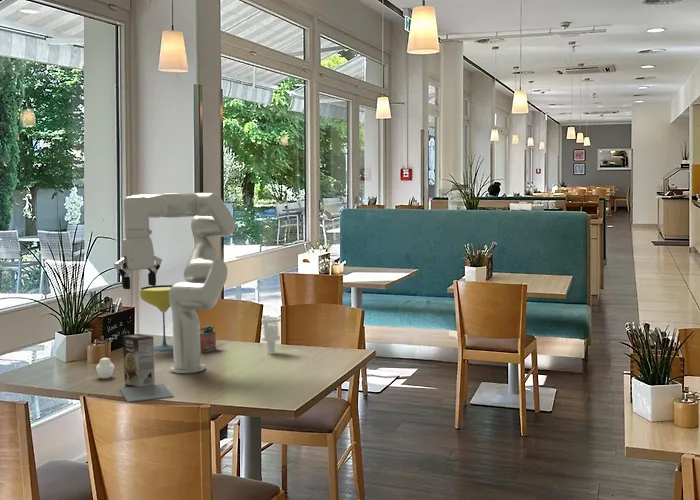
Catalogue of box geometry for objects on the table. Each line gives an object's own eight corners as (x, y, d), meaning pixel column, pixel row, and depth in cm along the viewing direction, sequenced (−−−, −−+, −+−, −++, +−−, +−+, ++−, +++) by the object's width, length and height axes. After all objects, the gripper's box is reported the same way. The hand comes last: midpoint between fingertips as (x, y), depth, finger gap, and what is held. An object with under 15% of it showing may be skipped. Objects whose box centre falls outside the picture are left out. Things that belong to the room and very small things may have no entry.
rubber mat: (119, 389, 248) (119, 388, 248) (163, 384, 254) (163, 383, 254) (127, 402, 233) (127, 401, 233) (173, 396, 239) (173, 395, 239)
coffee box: (123, 384, 255) (121, 335, 255) (140, 380, 260) (138, 333, 259) (138, 387, 249) (136, 338, 248) (155, 383, 254) (153, 335, 253)
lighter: (212, 348, 313) (211, 324, 312) (218, 349, 311) (217, 324, 310) (197, 351, 306) (197, 327, 305) (203, 352, 304) (203, 327, 303)
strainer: (268, 350, 306) (267, 313, 305) (283, 352, 303) (282, 314, 302) (258, 354, 300) (258, 316, 299) (274, 355, 297) (273, 317, 296)
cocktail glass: (152, 343, 323) (150, 284, 321) (193, 344, 321) (191, 285, 319) (134, 352, 305) (132, 290, 303) (177, 353, 303) (176, 290, 301)
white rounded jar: (95, 376, 267) (94, 356, 266) (113, 374, 269) (113, 354, 269) (97, 380, 261) (96, 360, 261) (115, 378, 264) (115, 358, 263)
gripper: (152, 232, 256) (155, 283, 257) (107, 235, 243) (109, 289, 244) (166, 233, 251) (168, 284, 253) (120, 236, 238) (123, 291, 239)
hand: (139, 287), depth 248 cm, fingers open, 9 cm apart
